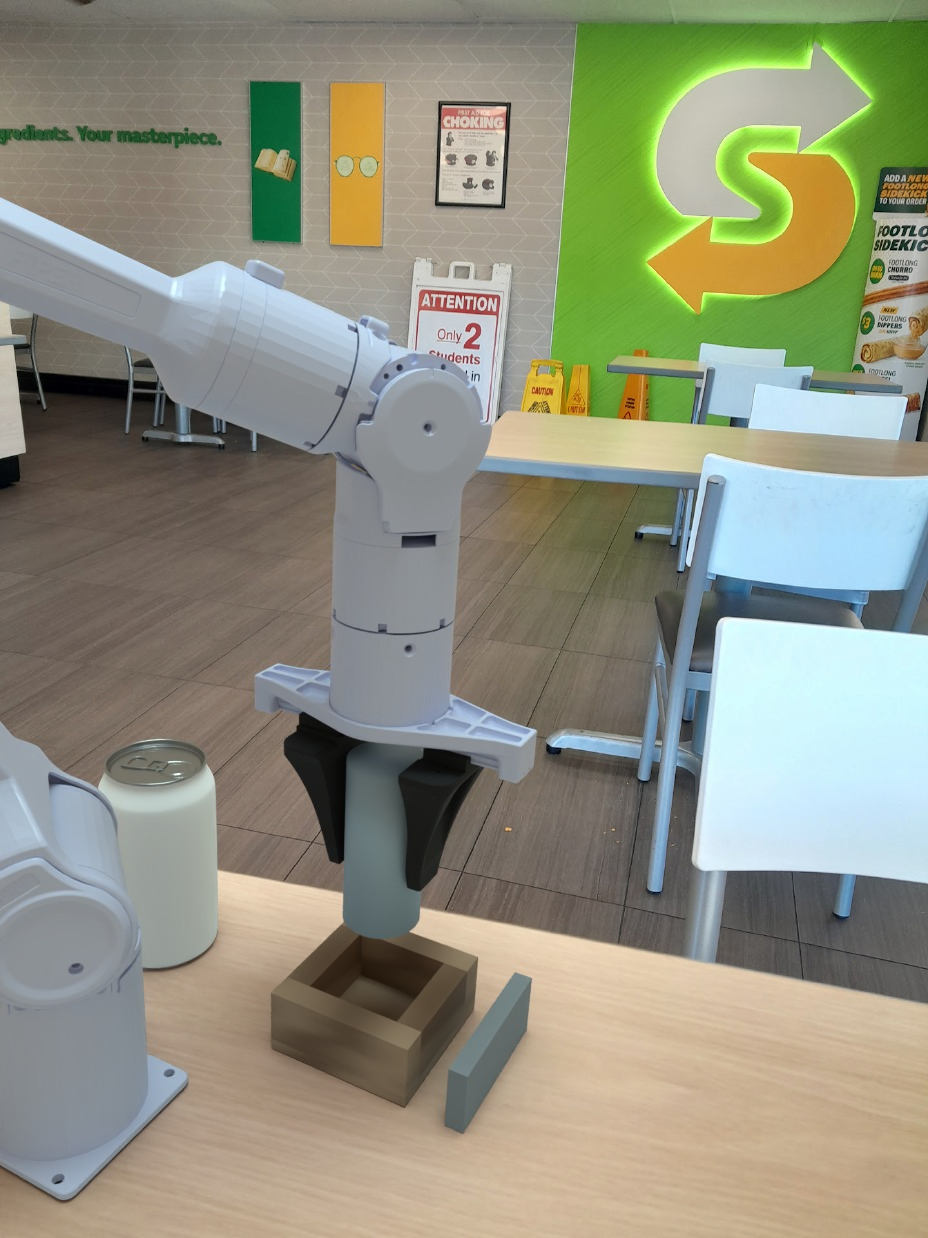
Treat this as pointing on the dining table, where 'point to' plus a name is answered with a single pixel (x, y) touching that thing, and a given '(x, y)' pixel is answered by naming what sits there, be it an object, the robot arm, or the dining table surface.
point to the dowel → (377, 843)
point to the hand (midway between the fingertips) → (382, 867)
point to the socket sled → (374, 1009)
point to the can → (167, 845)
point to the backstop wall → (487, 1053)
